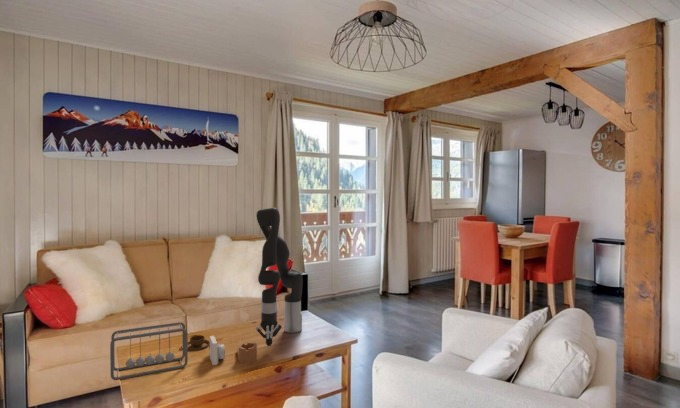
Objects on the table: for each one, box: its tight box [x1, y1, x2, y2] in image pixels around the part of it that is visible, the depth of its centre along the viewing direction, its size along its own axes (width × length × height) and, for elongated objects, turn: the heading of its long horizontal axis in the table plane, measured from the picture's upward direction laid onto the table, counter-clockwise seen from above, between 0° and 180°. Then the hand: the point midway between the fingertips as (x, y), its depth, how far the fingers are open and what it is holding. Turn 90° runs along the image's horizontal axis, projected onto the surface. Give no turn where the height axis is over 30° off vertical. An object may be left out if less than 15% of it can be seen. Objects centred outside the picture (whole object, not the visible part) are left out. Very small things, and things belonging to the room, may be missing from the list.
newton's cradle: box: [109, 321, 189, 381], centre depth 175 cm, size 30×10×18 cm, turn 118°
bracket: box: [236, 341, 258, 364], centre depth 191 cm, size 18×8×7 cm, turn 18°
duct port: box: [209, 335, 226, 366], centre depth 186 cm, size 6×10×10 cm, turn 26°
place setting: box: [179, 334, 210, 351], centre depth 198 cm, size 18×20×6 cm
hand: (268, 345), depth 196 cm, fingers closed
